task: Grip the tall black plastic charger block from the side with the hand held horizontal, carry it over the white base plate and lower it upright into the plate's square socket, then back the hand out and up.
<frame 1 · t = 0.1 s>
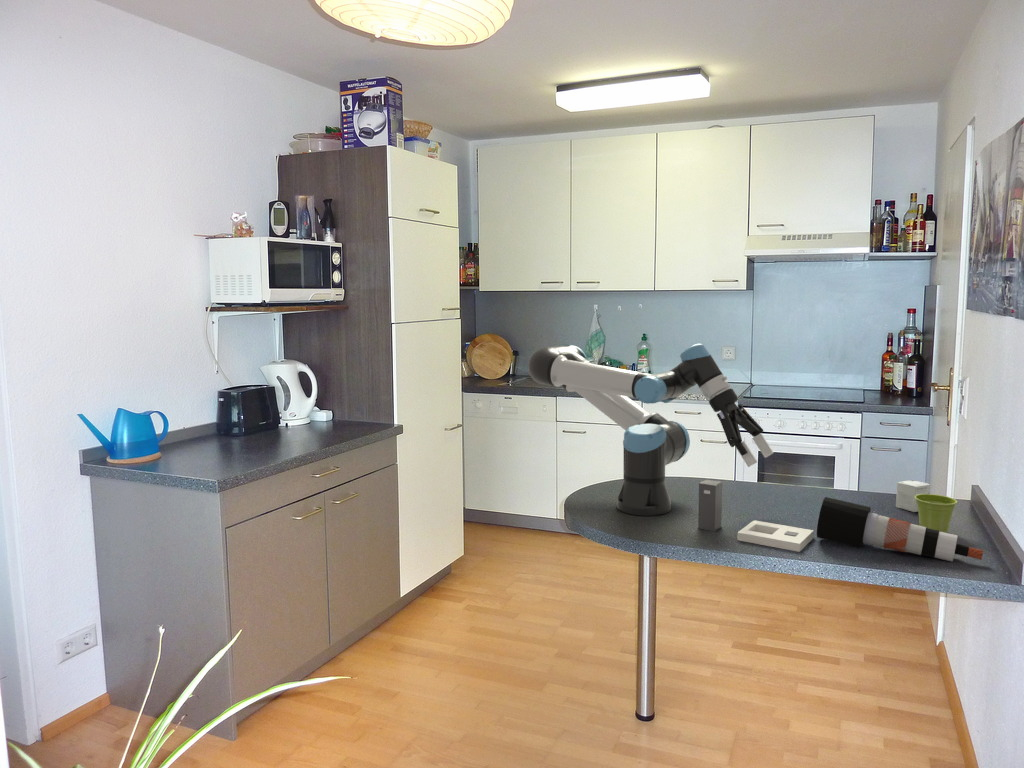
hand: (761, 460, 209), 15 cm above the breakfast bar, tool tilted 35°, fingers open, 13 cm apart
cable: (896, 553, 179), on the breakfast bar
charger: (709, 527, 199), on the breakfast bar
skincare box: (912, 509, 214), on the breakfast bar
plant pot: (933, 532, 193), on the breakfast bar
white base plate: (775, 539, 189), on the breakfast bar
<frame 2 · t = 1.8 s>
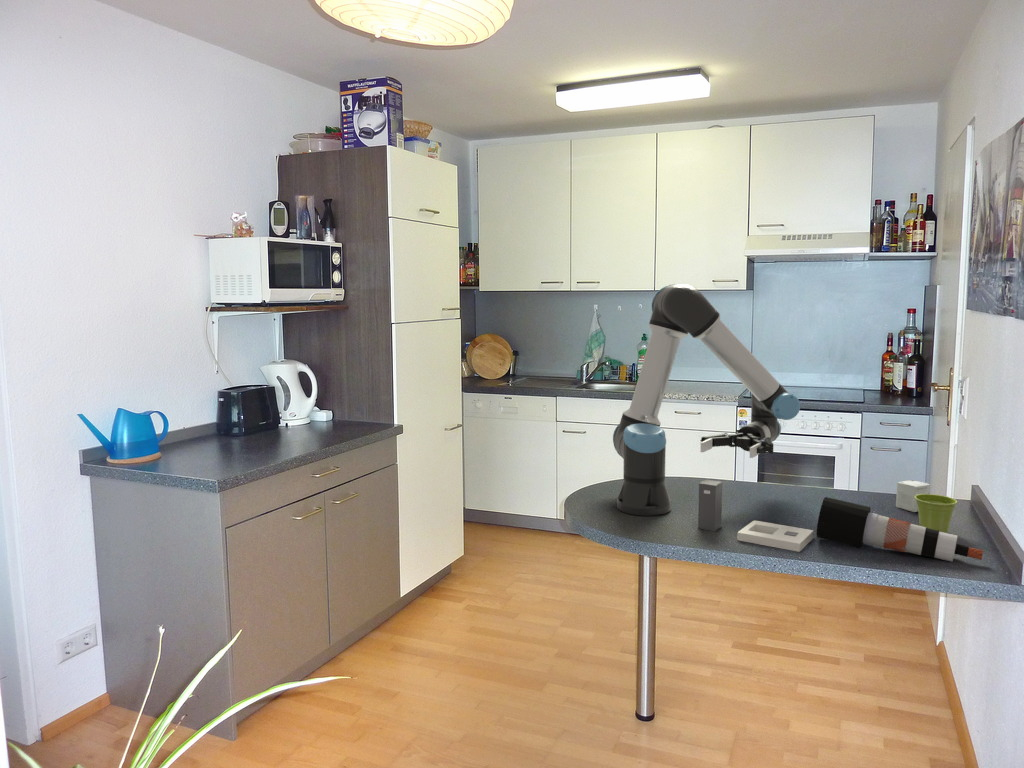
hand: (725, 450, 204), 19 cm above the breakfast bar, tool horizontal, fingers open, 13 cm apart
nothing on the breakfast bar moved.
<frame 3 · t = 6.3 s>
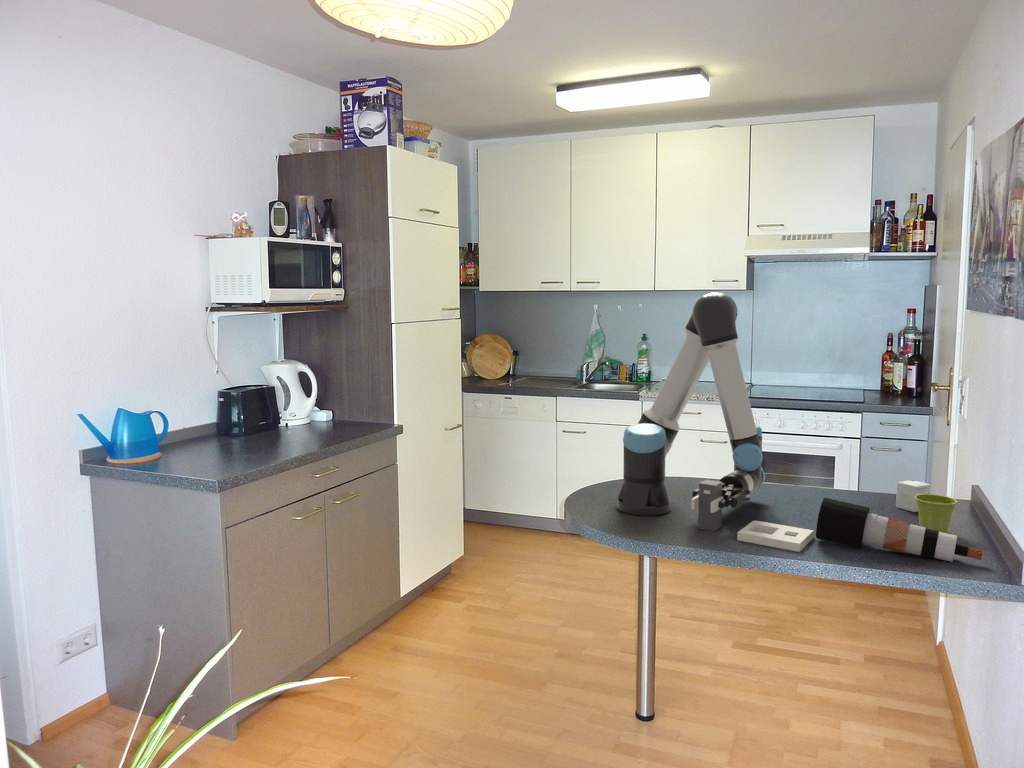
hand: (702, 505, 194), 7 cm above the breakfast bar, tool horizontal, fingers closed on charger, 4 cm apart
charger: (709, 527, 199), on the breakfast bar, touching gripper
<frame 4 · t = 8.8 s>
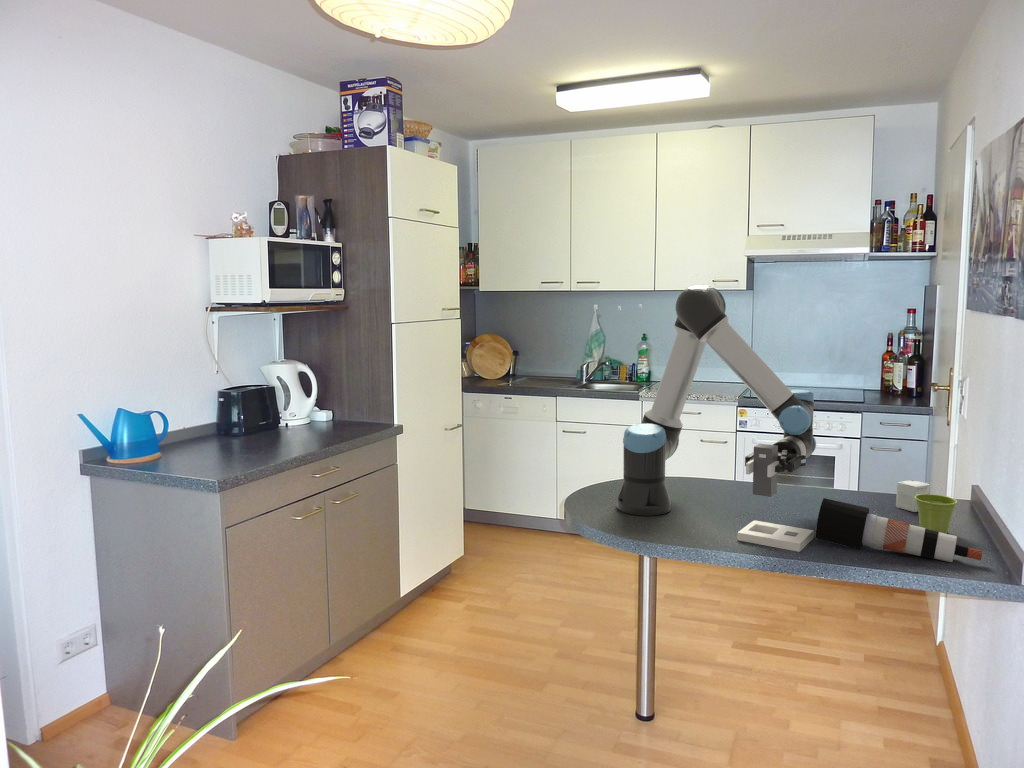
hand: (758, 470, 184), 18 cm above the breakfast bar, tool horizontal, fingers closed on charger, 4 cm apart
charger: (764, 493, 190), point 11 cm above the breakfast bar, touching gripper
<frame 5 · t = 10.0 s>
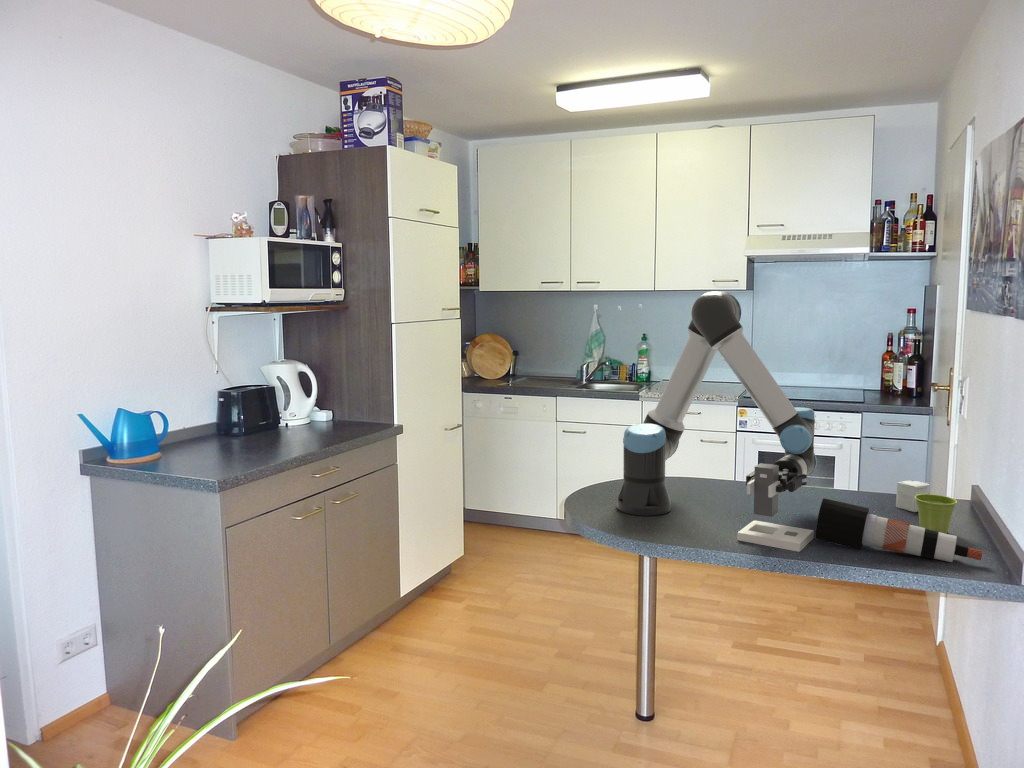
hand: (759, 490, 185), 13 cm above the breakfast bar, tool horizontal, fingers closed on charger, 4 cm apart
charger: (765, 513, 190), point 6 cm above the breakfast bar, touching gripper
when the fingers open (8 cm above the breakfast bar, at t = 11.3 s): charger drops 1 cm, resting in white base plate.
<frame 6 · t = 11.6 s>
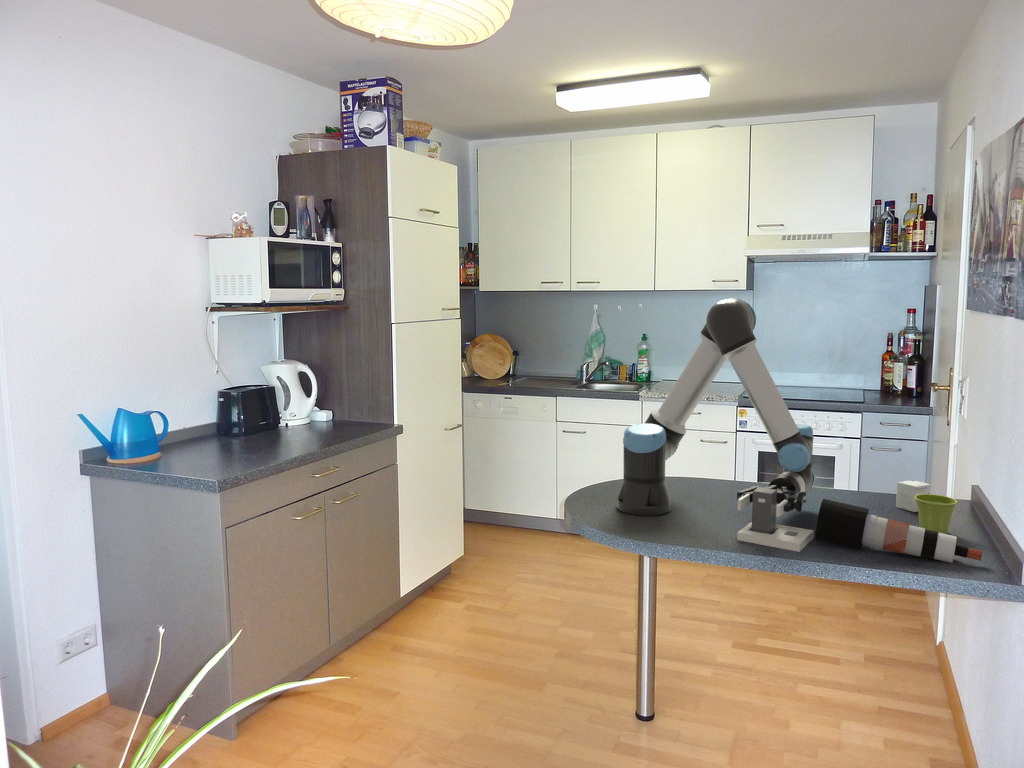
hand: (758, 508, 186), 8 cm above the breakfast bar, tool horizontal, fingers open, 9 cm apart
charger: (763, 536, 191), resting in white base plate
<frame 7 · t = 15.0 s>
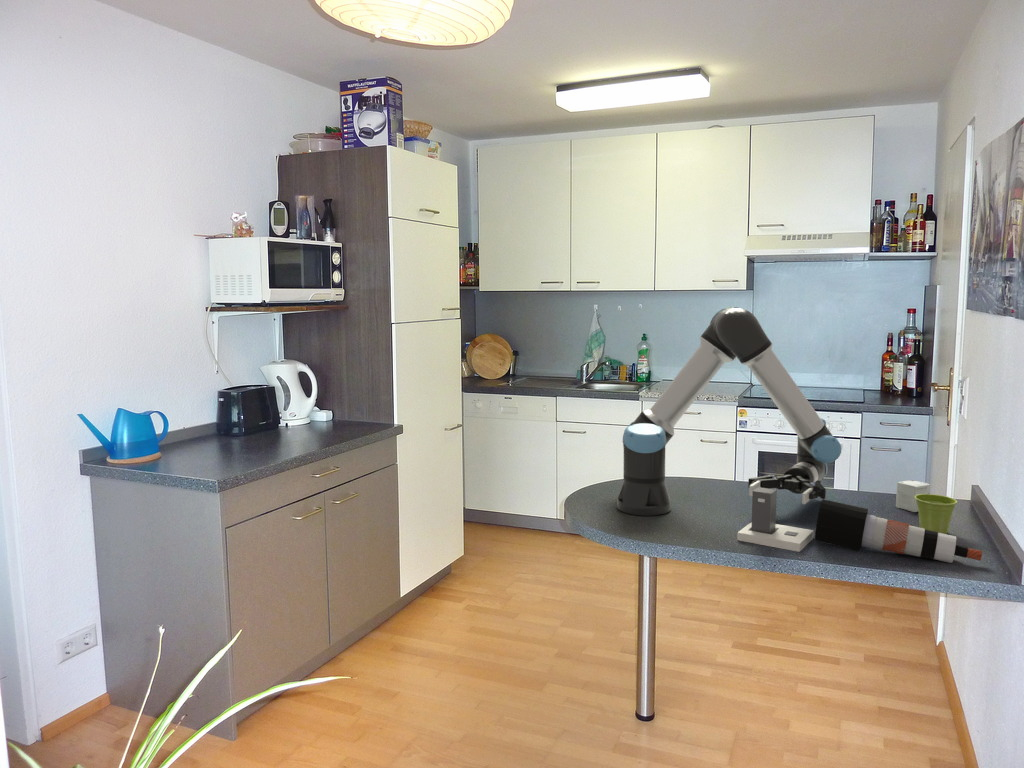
hand: (776, 494, 197), 9 cm above the breakfast bar, tool horizontal, fingers open, 13 cm apart
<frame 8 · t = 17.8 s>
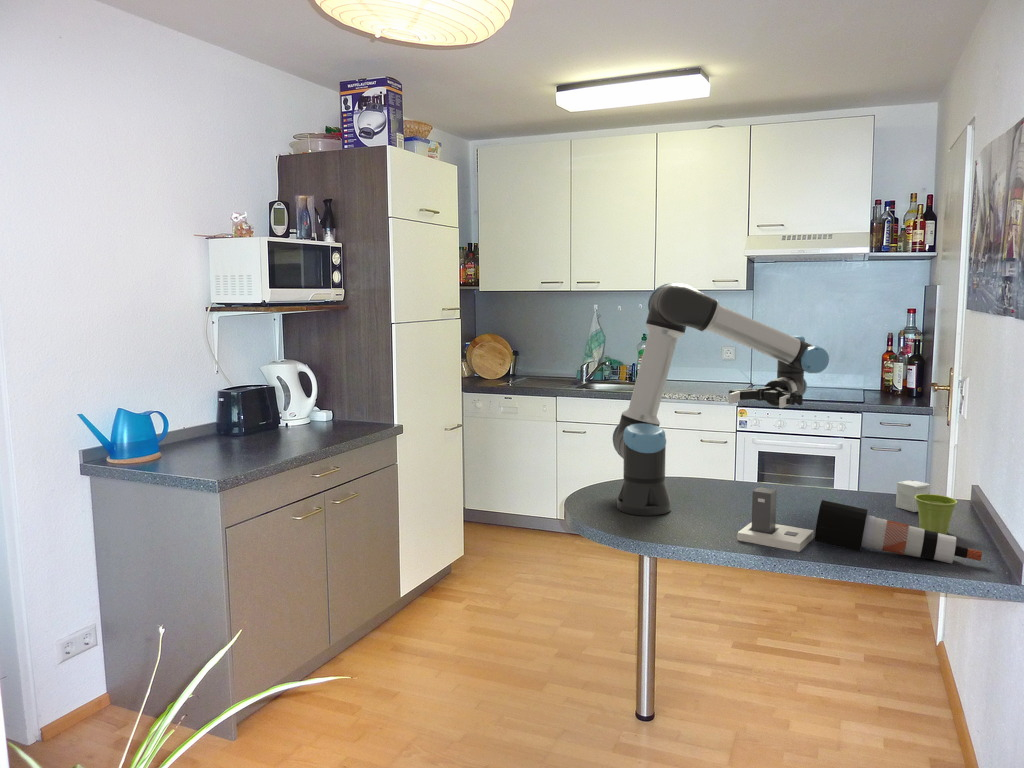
hand: (754, 400, 203), 32 cm above the breakfast bar, tool horizontal, fingers open, 13 cm apart
at the end: charger 0.0 cm from the target spot on the white base plate, point 0.0 cm above the white base plate's base; charger tilted 0°; the gripper is holding nothing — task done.
